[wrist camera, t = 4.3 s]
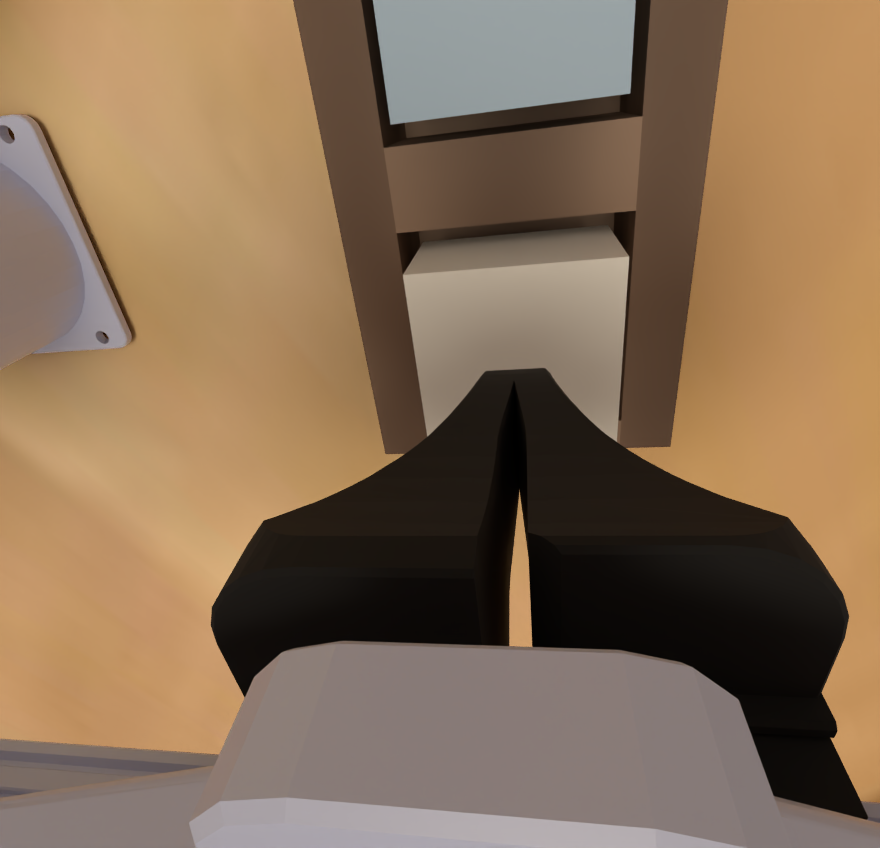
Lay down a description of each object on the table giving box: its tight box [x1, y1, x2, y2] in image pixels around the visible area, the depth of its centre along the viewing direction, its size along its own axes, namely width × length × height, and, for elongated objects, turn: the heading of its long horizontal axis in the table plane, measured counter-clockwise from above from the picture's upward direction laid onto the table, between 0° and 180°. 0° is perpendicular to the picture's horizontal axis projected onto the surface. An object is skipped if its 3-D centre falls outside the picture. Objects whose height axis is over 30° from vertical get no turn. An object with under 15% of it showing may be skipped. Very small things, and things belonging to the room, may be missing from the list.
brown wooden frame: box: [293, 0, 728, 454], centre depth 15 cm, size 9×16×4 cm, turn 7°
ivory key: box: [403, 225, 629, 442], centre depth 15 cm, size 5×5×3 cm
